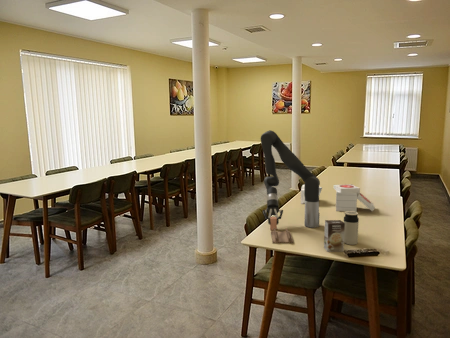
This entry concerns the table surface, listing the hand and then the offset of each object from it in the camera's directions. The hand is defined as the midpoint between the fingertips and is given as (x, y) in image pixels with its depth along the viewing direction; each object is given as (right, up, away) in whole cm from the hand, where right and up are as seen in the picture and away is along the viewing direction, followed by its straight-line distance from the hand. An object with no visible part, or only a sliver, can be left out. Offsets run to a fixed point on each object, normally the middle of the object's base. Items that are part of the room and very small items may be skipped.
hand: (273, 224), depth 225 cm
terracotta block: (0, -4, +3) cm, 5 cm away
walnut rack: (+3, -6, -14) cm, 15 cm away
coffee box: (+29, -9, -33) cm, 45 cm away
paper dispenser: (+69, +4, +46) cm, 83 cm away
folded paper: (+43, +8, +73) cm, 85 cm away
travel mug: (+41, -7, -23) cm, 48 cm away
